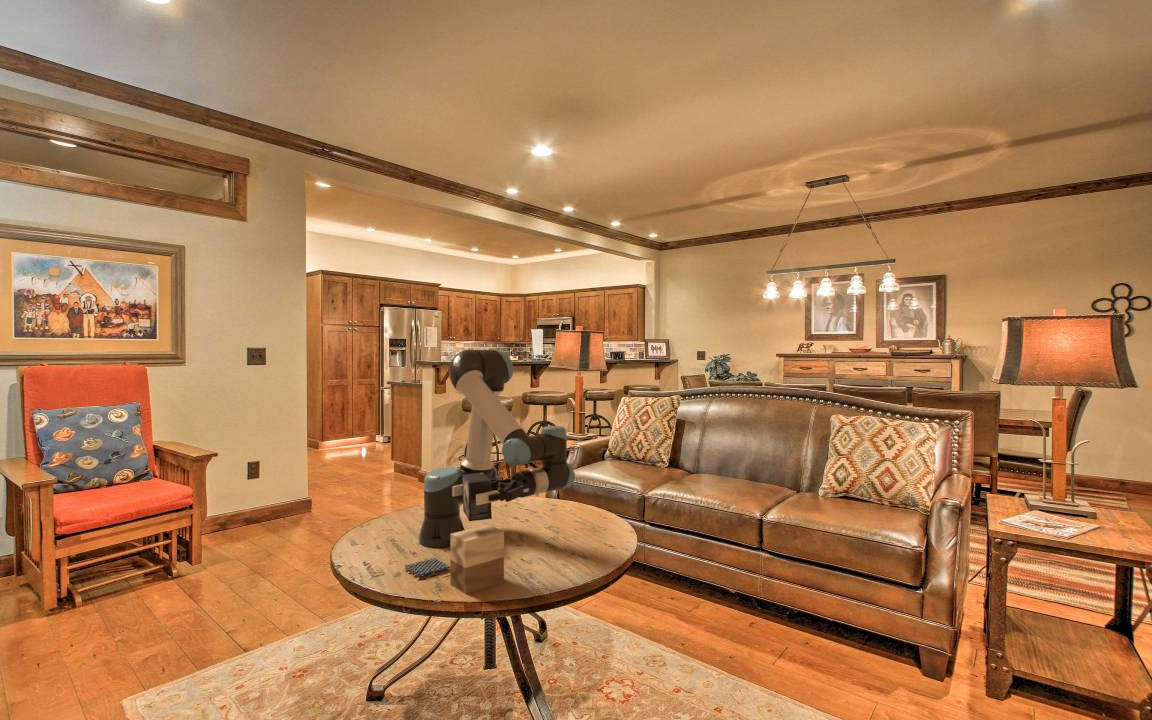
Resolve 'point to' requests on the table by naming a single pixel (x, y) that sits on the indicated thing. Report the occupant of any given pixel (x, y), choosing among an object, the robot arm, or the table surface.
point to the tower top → (476, 545)
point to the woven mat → (427, 568)
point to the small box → (470, 488)
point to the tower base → (477, 575)
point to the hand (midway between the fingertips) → (464, 495)
